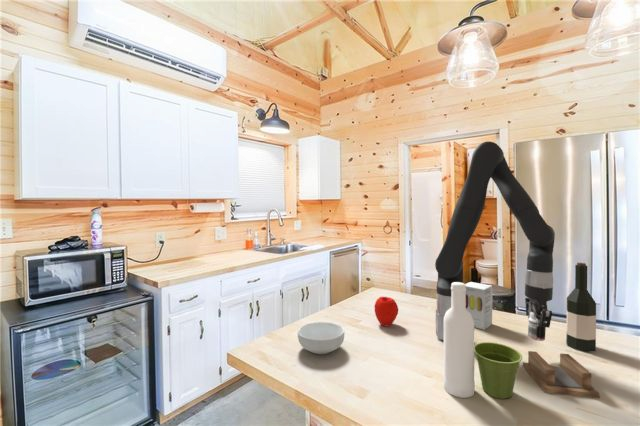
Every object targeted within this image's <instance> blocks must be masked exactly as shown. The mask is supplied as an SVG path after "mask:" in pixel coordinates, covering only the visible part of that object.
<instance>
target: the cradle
mask: <svg viewBox="0 0 640 426" xmlns="http://www.w3.org/2000/svg"><path fill="white" fill-rule="evenodd" d="M527 356H528V357H527V359H528V361H526V362H524V361H522V367H523V368H524V370H525V371H526V372H527V374H528V375H530V377H531V379H533V380H534V382H535V383H536V384H537V386H538V387H539V388H540V389H541V390H542V391H543V393H547V394H549V393H550V394H556V395H557V394H559V395H568V396H580V397H587V398H588V397H590V398H600V397H601V395H600V392H599V391H598V390H597V389H595V388H594V387H593V386H592V372H590V371H589V370H588V369H587V368H586V367H584V366H583V365H582V364H581V363H580V362H578V361H577V360H576V359H575V358H574V357H573V356H571V355H570V354H569V353H560V354H559V364H549V363H548V362H547V361H546V359H544V358H543V357H542V356H541V354H539V353H538V351H533V350H532V351H531V350H528V354H527Z"/></svg>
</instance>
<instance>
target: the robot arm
mask: <svg viewBox="0 0 640 426" xmlns="http://www.w3.org/2000/svg"><path fill="white" fill-rule="evenodd" d="M504 155H505V154H504V151H503V150H502V148H501V146H500V145H499V144H498V143H495V142H493V141H484V142H481V143H480V144H478V145H477V146H476V147H475V148H474V150H473V153H472V155H471V159H470V165H469V169H468V173H467V176H466V179H465V182H464V184H463V186H462V188H461V191H460V194H459V196H458V199H457V201H456V204H455V206H454V208H453V212H452V216H451V219H450V223H449V226H448V230H447V234H446V239H445V241H444V244H443V246H442V247H441V250H440V252H439V253H438V256H437V258H436V259H435V262H434V263H435V264H434V266H435V270H436V272H437V281H436V309H435V334H436V337H437V338H436V339H438V340H441V341H444V316H445V313H446V312H447V311H448V310H449V309H450V308H451V284H452V283H453V282H461V283H464V261H463V259H464V255H465V252H466V248H467V247H468V243H469V241H470V240H471V238H472V236H473V234H474V232H475V231H476V228H478V227H477V226H478V224H479V222H480V221H481V220H480V219H481V217H482V214H483V212H484V210H485V209H484V208H485V205H486V199H487V193H488V188H489V187H488V186H489V182H490V180H492V181H493V182H494V183H495V185H496V187H497V188H498V190H499V192H500V194H501V196H502V198H503V200H504V202H505V204H506V205H507V207H508V208H509V210H510V211H511V213H512V215H514V217H515V219H516V220H517V222H518V223H519V225H520V227H521V229H522V231H523V233H524V235H525V236H526V238H527V240H528V241H529V242H528V243H529V245H528V246H529V247H528V248H529V249H528V250H529V252H528V254H527V259H526V261H527V262H526V271H525V279H524V280H525V281H524V282H525V283H524V295H525V298H524V300H525V315H526V316H528V317H527V318H528V319H529V318H530V312H533V313H534V318H535V319H536V323H537V326H536V336H537V337H538V338H545V339H546V331H545V327H546V328H547V329H548V328H550V326H551V322H552V317H553V311H552V310H549V309H548V304H547V303H548V302H549V301H552V300H553V295H554V293H553V289H554V273H553V272H554V256H553V253H554V246H555V237H556V236H555V235H556V233H555V230H554V228H553V227H551V226H550V224H548V223H547V222H546V221H545V219H544V218H543V216H542V215H541V213H540V210H539V209H538V207H537V205H536V203H535V202H534V201H533V199H532V197H530V195H529V193H528V192H527V191H526V189H525V188H524V187H523V185H522V184H521V183H520V182H519V180H518V179H517V178H516V177H515V175H514V174H513V171H511V169H510V166H509V164H508V162H507V160H506V157H505V156H504ZM537 315H541V317H539V316H537ZM539 319H540V321H539Z"/></svg>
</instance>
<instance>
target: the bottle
mask: <svg viewBox="0 0 640 426" xmlns="http://www.w3.org/2000/svg"><path fill="white" fill-rule="evenodd" d="M465 284H466V283H464V282H463V283H461V282H453V283H452V284H451V308H450V309H449V310H448V311H447V312H446V313H445V316H444V340H443V378H442V379H443V388H444V391H446V392H447V393H448V394H450V395H451V396H454V397H456V398H461V399H462V398H463V399H466V398H467V399H468V398H471V397H473V396H474V394H475V386H476V385H475V352H474V345H475V327H474V321H473V318H472V315H471V314H470V313H469V312H468V311H467V310H466V285H465Z"/></svg>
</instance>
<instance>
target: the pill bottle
mask: <svg viewBox="0 0 640 426" xmlns="http://www.w3.org/2000/svg"><path fill="white" fill-rule="evenodd" d="M537 316H539V317H541V315H537ZM539 321H540V319H539ZM536 326H537V323H536V319H535V318H534V313H533V312H530V318H528V328H527V329H528V330H527V331H528V332H527V336H528V337H529V338H530V339H531V340H534V341H539V342H543V341H545V340H546V337H545V338H538V337H537V336H536ZM546 328H547V327H545V332H546V331H547V330H546Z"/></svg>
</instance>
